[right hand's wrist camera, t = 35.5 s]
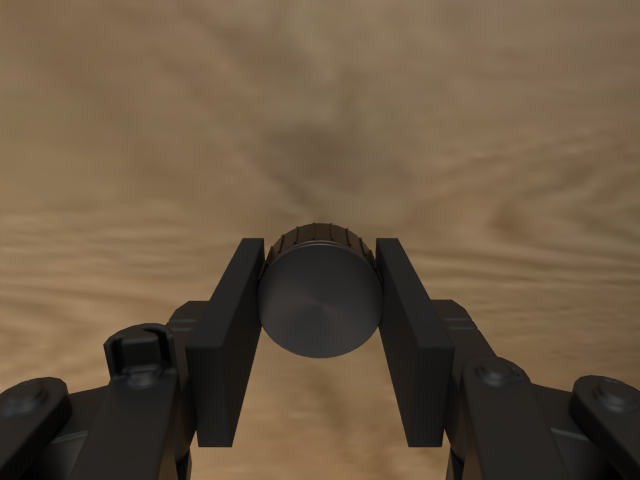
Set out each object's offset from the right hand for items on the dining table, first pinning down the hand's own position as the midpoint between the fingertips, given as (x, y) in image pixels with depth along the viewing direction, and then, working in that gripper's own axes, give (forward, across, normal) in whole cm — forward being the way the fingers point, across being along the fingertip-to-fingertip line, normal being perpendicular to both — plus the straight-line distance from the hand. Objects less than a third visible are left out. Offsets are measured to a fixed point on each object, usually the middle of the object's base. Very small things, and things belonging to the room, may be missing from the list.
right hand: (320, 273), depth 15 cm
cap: (-2, 0, 0) cm, 2 cm away
